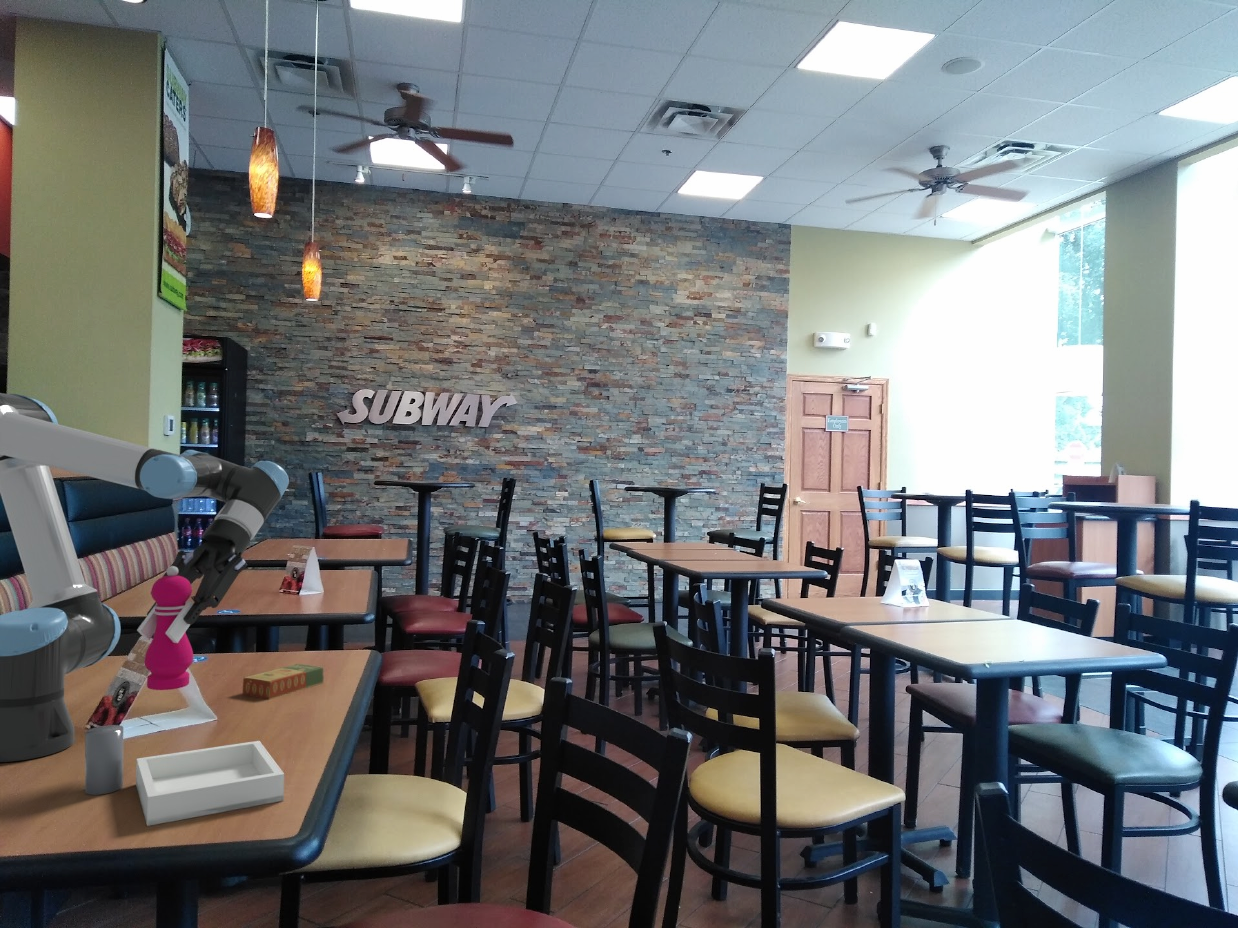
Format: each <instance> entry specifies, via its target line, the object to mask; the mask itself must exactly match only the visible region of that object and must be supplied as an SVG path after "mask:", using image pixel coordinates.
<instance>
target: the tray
mask: <svg viewBox="0 0 1238 928" xmlns="http://www.w3.org/2000/svg"><path fill="white" fill-rule="evenodd" d="M135 769H136V771H135V772H136V773H135V787H136V790H137V793H138V797H139V801H140V804H141V805H140V806H141V809H142V813H143V816H144V820H145V823H146V826H147V827H150V826H155V825H159V824H166V823H170V822H172V823H173V822H176V821H181V820H187V819H192V818H197V817H203V816H207V815H213V814H219V813H224V812H229V811H236V810H241V809H245V808H250V807H256V806H261V805H266V804H273V803H277V802H283V801H284V800H285V799H284V797H285V795H284V794H285V773H284V771H283V770H282V769H281V767H280V766H279V765H278V764H277V762H276V761H275V760H274V758H273V757H272V756H271V754H270V753H269V752H268V750H267V749H266V747H265V746H264V744H262V742H261V741H260V740H256V741H255V740H254V741H247V742H241V743H234V744H226V745H221V746H214V747H206V748H201V749H200V748H199V749H194V750H186V751H180V752H173V753H167V754H165V753H164V754H159V755H158V754H157V755H154V756H153V755H152V756H145V757H140V758H136V768H135Z"/></svg>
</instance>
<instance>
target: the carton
mask: <svg viewBox="0 0 1238 928" xmlns="http://www.w3.org/2000/svg"><path fill="white" fill-rule="evenodd" d="M322 684H324V667H322V666H318V665H308V664H300V663H296V664H291V665H288V666H284V667H279V668H275V669H272V670H268V671H265V672H260V673H257V674H252V675H249V676H245V677H243V679H242V695H243V694H245V695H244V696H251V697H254V696H256V697H255V698H260V699H265V700H266V699H267V700H272V699H275V698H279V697H283V696H286V695H289V694H292V692H293V693H296V692H299V691H302V690H306V689H309V688H313V687H315V686H319V685H322ZM305 688H306V689H305ZM298 690H299V691H298ZM285 694H286V695H285Z"/></svg>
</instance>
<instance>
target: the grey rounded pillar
mask: <svg viewBox="0 0 1238 928" xmlns="http://www.w3.org/2000/svg"><path fill="white" fill-rule="evenodd" d="M84 734H85V736H84V737H85V738H84V740H85V741H84V744H85V745H84V748H85V749H84V751H85V753H84V756H85V757H84V793H85V794H86V795H90V796H99V795H107V794H111V793H114V792H116V791H117V792H118V791H119V790H121V789H122V788H123V787H124V726H122V725H119V724H108V725H100V726H95V727H92V728H90V729H87V730H86V731H85V732H84Z"/></svg>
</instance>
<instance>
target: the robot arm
mask: <svg viewBox="0 0 1238 928" xmlns="http://www.w3.org/2000/svg"><path fill="white" fill-rule="evenodd" d="M51 468H53V469H54V468H55V469H58V470H63V471H66V472H70V473H75V474H78V475H83V476H87V477H91V478H94V479H99V480H103V481H106V482H111V483H115V484H119V485H123V486H127V487H131V488H135V489H139V490H142V491H145V492H147V493H148V494H150V495H151V496H152V497H155V498H160V499H165V500H166V499H167V500H174V499H181V498H192V497H195V498H196V497H207V498H210V499H211V498H212V499H215V500H218V501H220V502H224V503H225V504H224V505H223V507H222V508H221V509H220V511H218V513H217V514H216V516H215V517H214V519H213V521H211V523H210V524H209V525H208V527H207V528H206V529H205V531H204V532H203V534H202V538H201V543H200V545H198V546H197V547H196V548H194V550H193V551H189V552H185V550H179V551H178V552H177V554H176V556H175V559H174V561H173V563H172V564H171V565H170V566H169V567H171V566H175V567H177V568H178V574H177V575H178V576H182V577H184V578H186V579H187V580H188V581H189V582H190V584H191V585H192V584H193V583H194V582H195V581H196V580H200V579H201V578H202V579H201V582H200V584H199V586H198V588H197V591H196V593H195V595H194V596H190V598H191V600H192V601H191V600H187V601H186V604H185V606H184V607H183V609H182V610H181V611H180V613H179V614H178V616H177V617H176V619H175V620H174V621H173V623H172V624H171V626H170V627H169V628H168V630H167V631H166V635H167V636H168V637H169V638H170V639H171V640H172V641H173V642H174V643H178V642H179V640H180V639H181V637H182V636H183V635H184V633H185V632H186V631H187V630H188V629H189V627H190V626H191V625H193V624H194V623H195V622H197V620H198V618H199V616H200V615H201V613H202V612H203V611H205V610H207V609H208V608H212V609H215V608H217V607H218V606H219V605H220V603H221V602H222V600H223V598H224V597H225V595H226V594H227V593H228V591H229V590H230V588H231V587H232V585H233V583H234V581H235V580H236V579H237V577H238V576H239V574H241V572H243V570H245V569H246V568H247V566H248V564H247V562H246V560H245V559H244V558H243V554H244V552H245V551H246V550H247V548H248V547H249V545H250V544H251V541H252V540H253V539H254V538H255V536H256V535H257V533H258V532H259V531H260V529H261V527H262V526H263V524H264V523H265V521H266V520H267V518H268V517H269V516H270V514H271V513H272V512H273V510H274V508H275V507H276V505H278V503H279V502H280V501H281V500H282V497H283V495H284V493H285V491H286V490H287V488H288V487H289V484H290V479H289V474H287V472H286V471H285V469H284V468H283V467H282V466H280V465H278V464H277V463H275V462H273V461H270V460H265V461H264V460H260V461H257V462H255V463H254V465H252V466H251V467H246V466H242V465H238V464H236V463H233V462H230V461H227V460H224V459H222V458H219V457H216V456H213V455H211V454H209V453H208V452H207V453H206V452H201V451H197V450H194V449H187V450H185V451H184V452H183V453H180V454H177V453H173V452H171V451H170V452H168V451H166V450H165V451H164V450H161V449H157V448H152V447H149V446H145V445H141V444H138V443H133V442H129V441H126V440H121V439H118V438H115V437H110V436H106V435H101V434H98V433H95V432H91V431H86V430H82V429H80V428H79V429H78V428H74V427H70V426H67V425H63V424H59V422H58V419H57V417H56V415H55V414H54V412H53V410H51V409H50V407H48V406H47V404H45V403H44V402H42V401H40V400H38V399H35V398H32V397H29V396H26V395H25V394H24V395H22V394H16V393H2V392H0V497H1V499H2V504H3V506H4V509H5V513H6V515H7V519H8V522H9V525H10V529H11V532H12V535H13V538H14V541H15V545H16V548H17V552H18V554H19V557H20V561H21V563H22V567H23V571H24V574H25V576H26V577H25V578H26V579H27V580H26V581H27V584H28V587H29V589H30V593H31V596H32V600H31V602H30V604H29V605H28V607H27V608H25V609H22V610H14V611H10V612H5V613H3V614H0V763H9V762H18V761H25V760H32V759H36V758H37V759H38V758H41V757H47V756H49V755H52V754H55V753H58V752H62V751H64V750H66V749H68V748H69V747H71V746H73V745H74V743H75V731H76V730H75V727H74V723H73V721H72V718H71V715H70V712H69V709H68V706H67V704H66V701H65V683H66V682H65V680H66V678H65V677H66V675H68V674H70V673H73V672H76V671H78V670H80V669H83V668H84V669H85V668H87V667H91V666H94V665H95V664H97V663H98V662H100V661H101V660H103V659H105V658H106V657H108V655H110V654H111V653H112V652H113V650H114V649H115V647H116V646H117V644H118V643H119V640H120V637H121V621H120V618H119V616H118V615H117V613H116V611H115V610H114V609H113V608H111V607H109V606H108V605H107V604H106V603H103V602H101V599H100V596H99V595H100V594H99V592H98V589H96V588H94V587H92V586H90V585H88V584H87V583H86V581H85V578H84V575H83V572H82V569H81V566H80V562H79V560H78V556H77V553H76V549H75V546H74V543H73V540H72V536H71V533H70V530H69V527H68V524H67V521H66V517H65V513H64V511H63V507H62V504H61V501H60V497H59V495H58V492H57V487H56V485H55V482H54V478H53V475H52V472H51ZM164 576H168V575H167V571H166V572H165V573H164V574H163V575H162V577H164ZM155 605H157V603H156V601H154V603H153V604H152V606H151V607H150V609H149V610H148V611H147V612H146V617H145V619H144V620H143V621H142V622H141V624H140V625H139V626H138V628H137V629H136V631H137V632H138V633H139V634H140V635H141V636H142V637H143V639H145V640H147V641H150V640H152V637H154V635H155V631H156V626H157V615H156V614H154V611H155V608H154V606H155Z"/></svg>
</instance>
